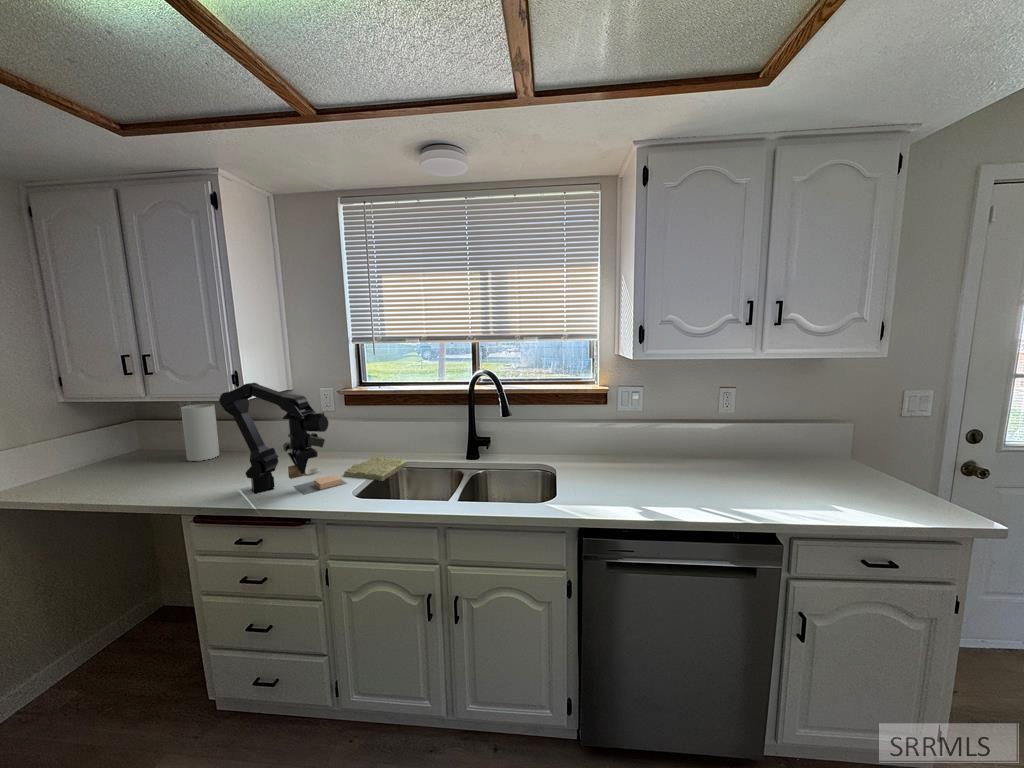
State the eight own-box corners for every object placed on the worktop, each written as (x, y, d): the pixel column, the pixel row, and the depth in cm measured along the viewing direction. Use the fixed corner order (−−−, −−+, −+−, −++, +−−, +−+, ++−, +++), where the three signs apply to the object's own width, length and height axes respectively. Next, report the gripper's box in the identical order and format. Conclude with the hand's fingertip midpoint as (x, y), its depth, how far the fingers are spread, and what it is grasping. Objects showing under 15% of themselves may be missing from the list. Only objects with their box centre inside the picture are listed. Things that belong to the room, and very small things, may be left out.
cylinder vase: (204, 453, 203) (198, 403, 200) (226, 454, 201) (221, 404, 198) (179, 461, 191) (173, 408, 188) (203, 462, 189) (197, 408, 186)
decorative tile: (407, 466, 183) (407, 458, 182) (382, 482, 163) (382, 473, 163) (369, 463, 187) (369, 456, 187) (341, 478, 168) (341, 470, 167)
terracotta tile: (320, 484, 153) (341, 478, 158) (313, 479, 158) (334, 474, 163) (320, 489, 153) (342, 484, 159) (314, 485, 158) (335, 479, 164)
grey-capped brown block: (292, 479, 147) (291, 468, 146) (287, 476, 150) (286, 465, 150) (321, 472, 154) (320, 462, 153) (316, 469, 157) (315, 459, 157)
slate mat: (303, 496, 149) (303, 494, 149) (293, 487, 157) (292, 486, 157) (347, 484, 160) (347, 483, 160) (335, 477, 168) (335, 475, 168)
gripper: (331, 431, 148) (333, 473, 150) (312, 423, 162) (315, 462, 163) (297, 437, 141) (301, 481, 142) (281, 428, 154) (284, 468, 156)
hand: (301, 472), depth 151 cm, fingers closed on grey-capped brown block, 2 cm apart
